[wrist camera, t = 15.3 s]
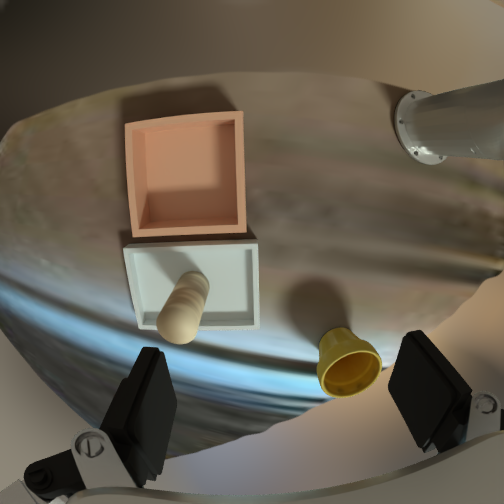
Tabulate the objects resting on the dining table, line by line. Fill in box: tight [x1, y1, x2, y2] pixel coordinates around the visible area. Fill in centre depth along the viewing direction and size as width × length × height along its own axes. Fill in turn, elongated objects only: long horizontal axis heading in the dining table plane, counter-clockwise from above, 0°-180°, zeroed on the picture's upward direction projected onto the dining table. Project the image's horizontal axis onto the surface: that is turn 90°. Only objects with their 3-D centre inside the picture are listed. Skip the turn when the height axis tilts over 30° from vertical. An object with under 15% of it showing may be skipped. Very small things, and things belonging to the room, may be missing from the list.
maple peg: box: [156, 271, 210, 344], centre depth 37 cm, size 5×5×12 cm
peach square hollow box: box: [125, 111, 247, 237], centre depth 36 cm, size 15×15×6 cm
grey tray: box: [123, 239, 260, 331], centre depth 42 cm, size 20×14×2 cm
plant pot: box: [317, 328, 382, 398], centre depth 43 cm, size 10×10×10 cm
